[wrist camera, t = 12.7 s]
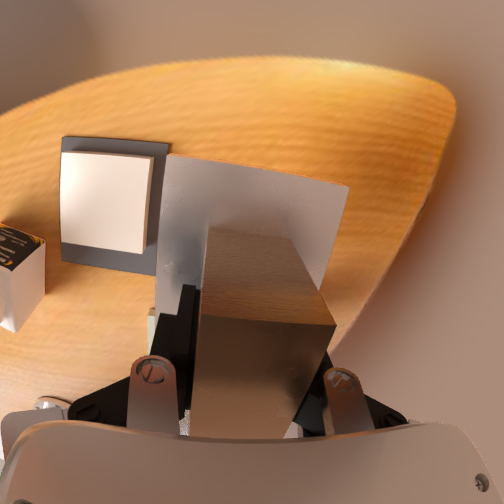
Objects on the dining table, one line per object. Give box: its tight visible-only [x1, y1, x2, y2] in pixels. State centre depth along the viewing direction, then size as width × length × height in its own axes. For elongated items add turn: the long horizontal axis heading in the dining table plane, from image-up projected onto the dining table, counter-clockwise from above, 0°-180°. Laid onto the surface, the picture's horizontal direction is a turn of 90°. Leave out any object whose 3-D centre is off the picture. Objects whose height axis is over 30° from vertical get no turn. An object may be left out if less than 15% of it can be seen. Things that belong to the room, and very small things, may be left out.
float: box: [155, 153, 350, 439], centre depth 11 cm, size 12×7×6 cm, turn 169°
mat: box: [59, 137, 169, 276], centre depth 24 cm, size 12×10×1 cm
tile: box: [60, 150, 154, 254], centre depth 23 cm, size 2×8×8 cm
